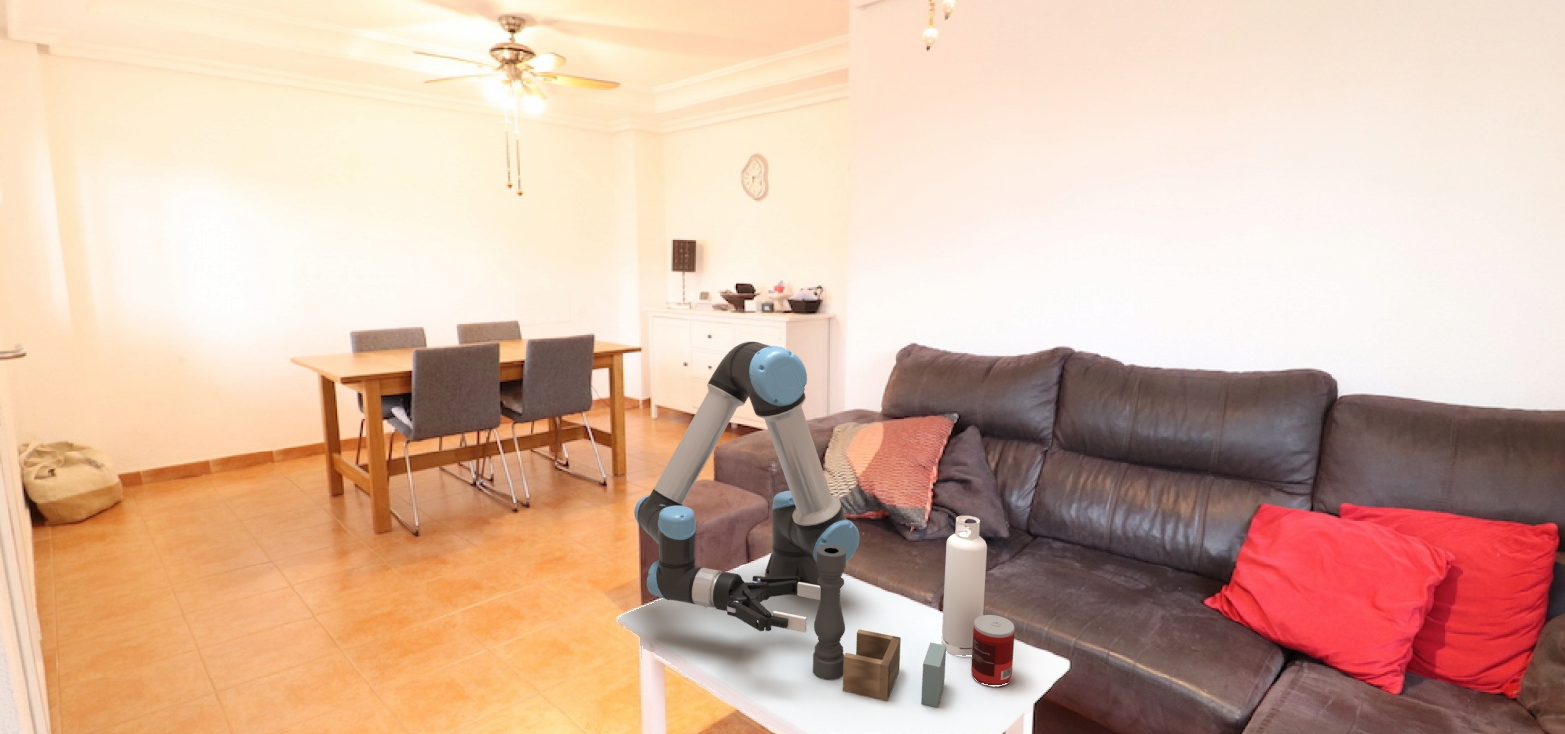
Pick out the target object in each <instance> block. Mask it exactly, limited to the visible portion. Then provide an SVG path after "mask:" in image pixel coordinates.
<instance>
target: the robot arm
mask: <svg viewBox="0 0 1565 734" xmlns="http://www.w3.org/2000/svg"><path fill="white" fill-rule="evenodd" d="M807 376H808V375H807V370H806V366H805V364H804V363H803V361H802V360H801V358H800V357H799V356H797V354H796V353H794V352H792V351H790V350H788V349H786V348H785V347H782V346H776V345H768V344H765V343H761V342H758V341H745V342H742V343H740V344H737V345H736V346H735V347H734V346H733V348H731V349H730V350H729V351H728V353H727V354H726V355H725V356H724V357H723V359H721V361H720V363H719V364H718V365H717V367H716V369H715V370H714V371H713V373H712V375H711V377H710V379H709V381H708V382H707V384H706V385H707V390H708V392H707V393H706V395H705V397H704V399H703V400H702V402H701V404H700V406H699V408H698V409H697V411H696V413H695V414H694V416H693V418H692V420H691V422H690V423H689V426H687V428H686V431H685V432H684V434H683V436H682V437H681V439H680V441H679V442H678V444H677V446H676V448H675V450H674V452H673V454H672V456H671V457H670V459H669V460H668V462H667V464H666V466H665V467H664V470H663V471H662V473H661V475H660V477H659V479H658V480H657V482H656V484H655V486H654V487H653V489H652V490H651V493H650V494H648V495H645V496H643V497H641V499H639V500H638V502H636V504H635V507H634V513H633V514H634V519H635V520H636V522H637V523H638V525H639V526H640V528H641V529H642V530H643V531H644V532H646V533H647V534H648V536H650V537H651V538H652V539H653V540H654V541H655V543H657V544H658V554H659V556H658V557H659V558H658V560H656V561H654V562H653V563H652V564H651V566H650V567H649V570H648V572H647V573H648V575H647V578H646V586H647V590H648V592H649V593H650V594H651V595H652V596H654V597H657V598H662V599H664V600H667V601H675V602H680V603H686V604H691V605H695V606H701V607H704V608H706V609H708V608H709V609H714V608H715V609H716V610H719V611H724V612H727V613H726V614H727V616H731V617H734V618H736V619H739V620H740V621H742V622H744V623H745V624H747V625H749V626H751V627H752V628H754V629H755V630H758V631H759V632H764V631H765V632H771V631H772V627H776V628H781V629H786V630H790V631H794V632H800V633H806V632H807V620H808V618H807V616H802V615H797V614H793V613H789V612H787V613H786V612H783V611H782V612H781V611H777V610H774V611H772V612H770V611H769V610H768V609H767V608H766V607H765V606H764V605H763V604H762V603H761V602H763V601H768V600H769V598H772V597H781V596H787V595H797V596H798V597H803V598H807V599H812V600H817V601H820V596H821V587H820V586H819V585H818V582H817V579H818V578H819V577H820V573H819V572H818V568H817V549H818V548H819V547H821V546H824V545H836V546H840V547H843V548H844V549H845V550H846V564H847V563H848V562H849V561H850V560H851V559H852V558H853V557H854V555H855V553H856V550H857V549H858V547H859V544H860V532H859V528H858V527H857V526H856V525H855V524H854V523H853V521H851V520H849V519H847V517H846V513H845V512H844V508H843V505H842V503H841V500H840V499H839V498H838V497H837V496H834V495H832V494H831V491H830V488H829V487H830V486H829V484H828V481H827V479H826V475H825V473H824V469H823V467H822V466H823V465H822V463H821V461H820V458H819V454H818V452H817V449H816V446H815V442H814V441H813V440H814V439H813V437H812V434H811V431H810V428H809V424H808V422H807V419H806V416H805V413H804V410H803V407H802V406H803V404H804V402H805V401H806V394H805V391H806V389H805V386H806V385H807V382H808V377H807ZM748 398H749V400H750V404H751V406H752V409H753V412H754V415H755V416H756V417H758V418H761V419H763V420H764V421H765V425H766V427H767V430H768V432H769V435H770V436H769V437H770V439H771V442H772V444H773V447H774V450H775V452H776V455H777V457H778V458H777V459H778V461H779V464H780V468H781V469H782V473H783V474H784V478H785V481H786V484H787V486H788V489H789V490H785V491H780V492H778V493H777V494H775V495H774V497H773V499H772V500H773V501H772V507H771V510H772V531H771V533H772V536H771V537H772V538H771V539H772V540H771V541H772V544H771V545H772V547H771V548H772V550H771V553H770V556H769V559H768V563H767V564H766V569H765V571H764V576H761V575H753V576H752V581H749V582H748V581H744V580H743V578H742V576H741V575H740V574H739V573H735V572H734V573H733V572H728V571H723V572H722V570H718V569H713V568H712V569H711V568H707V567H701V566H697V565H696V529H697V524H696V516H695V515H696V514H695V511H694V510H693V509H692V508H690V507H689V506H685V505H683V504H684V503H685V501H686V500H687V498H688V496H689V495H690V493H691V491H692V489H693V487H694V486H695V484H696V482H697V480H698V479H699V476H700V474H702V471H703V469H704V468H705V466H706V464H707V462H708V460H709V458H710V457H711V456H712V453H713V452H714V449H715V448H716V446H717V444H718V443H719V441H720V439H721V437H722V435H723V434H724V432H725V430H726V429H727V427H728V424H729V423H730V421H731V420H732V418H733V416H734V414H735V412H736V410H737V409H738V408H739V407H741V406H744V405H745V404H746V401H747V400H748Z"/></svg>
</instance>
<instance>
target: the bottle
mask: <svg viewBox="0 0 1565 734" xmlns="http://www.w3.org/2000/svg"><path fill="white" fill-rule="evenodd" d="M966 520H974V521H975V523H966ZM980 521H981V520H980V518H978V517H977V516H971V515H959V516H957V517H955V533H953V534H951V535H950V536H949V537H948V538H947V540H946V547H945V567H944V586H943V588H944V589H943V609H942V626H941V627H942V629H941V634H942V636H941V645H946V651H947V652H948V653H947V652H946V653H947V654H949V653H950V655H952V656H954V655H962V656H966V655H972V646H973V628H974V621H975V619H976V618H977V617H979V616H983V615H984V603H985V589H986V588H985V587H986V585H985V584H986V573H987V572H986V570H987V555H988V554H987V552H988V551H987V550H988V545H987V543H986V540H985V539H983V537H982V536H980V524H981V522H980Z"/></svg>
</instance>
